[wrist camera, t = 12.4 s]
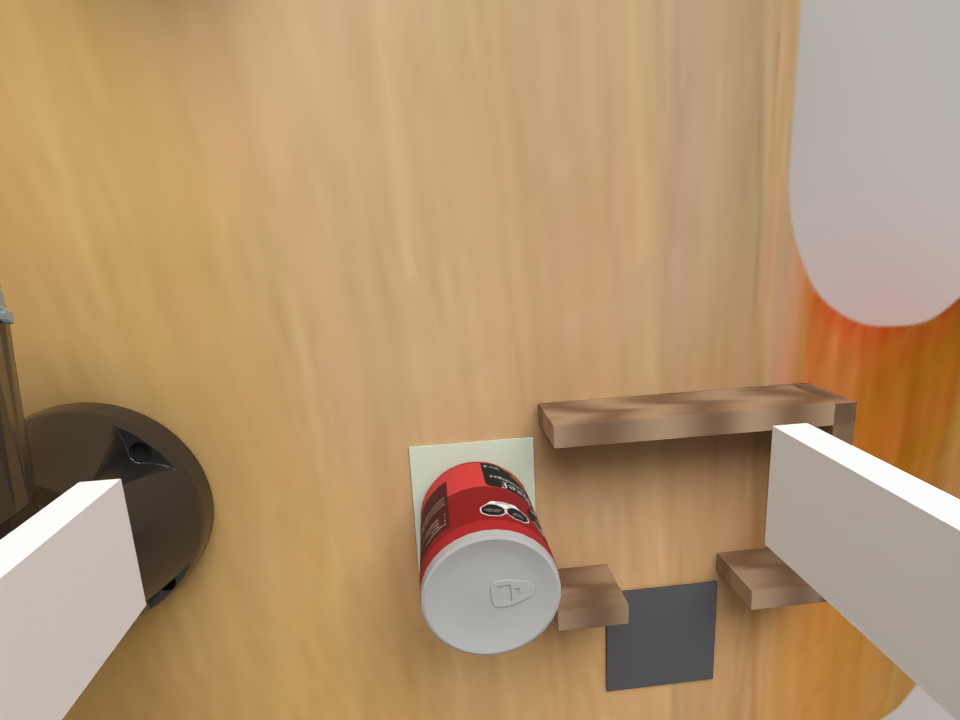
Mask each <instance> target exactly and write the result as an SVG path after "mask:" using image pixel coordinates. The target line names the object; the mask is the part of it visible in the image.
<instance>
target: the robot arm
mask: <svg viewBox="0 0 960 720" xmlns="http://www.w3.org/2000/svg"><path fill="white" fill-rule="evenodd" d="M13 323H14V319H13V315H12V312H10V311H9V310H7V309H6V306H5V302H4V298H3V294H2V290H1V286H0V720H62V719H63V718H64V716H65V715H66V714H67V712H68V711H69V710H70V708H71V707H72V706H73V704H74V703H75V701H76V700H77V699H78V697H79V696H80V695H81V693H82V692H83V691H84V689H85V688H86V687H87V685H88V684H89V682H90V681H91V680H92V678H93V677H94V676H95V674H96V673H97V672H98V670H99V669H100V667H101V666H102V665H103V663H104V662H105V661H106V659H107V658H108V657H109V655H110V654H111V653H112V651H113V650H114V648H115V647H116V646H117V644H118V643H119V642H120V640H121V639H122V638H123V636H124V635H125V634H126V632H127V631H128V629H129V628H130V627H131V625H132V624H133V623H134V621H135V620H136V619H137V617H138V616H139V615H141V614H143V613H144V612H146V611H148V610H149V609H151V608H152V607H154V606H156V605H157V604H159V603H160V602H161V601H163V600H164V599H166V598H167V597H168V596H169V595H170V594H172V593H173V592H174V591H175V590H176V589H177V588H178V587H179V586H180V585H181V583H182V582H183V581H184V580H185V579H186V577H187V576H188V575H189V573H190V572H191V570H192V569H193V567H194V566H195V564H196V563H197V561H198V560H199V558H200V557H201V555H202V554H203V552H204V550H205V548H206V545H207V543H208V540H209V537H210V534H211V530H212V524H213V500H212V494H211V490H210V486H209V483H208V480H207V478H206V475H205V473H204V471H203V469H202V467H201V465H200V464H199V462H198V460H197V459H196V457H195V456H194V455H193V453H192V452H191V451H190V450H189V448H188V447H187V446H186V445H185V444H184V443H183V442H182V441H181V440H180V439H179V438H178V437H177V436H176V435H175V434H173V433H172V432H171V431H170V430H168V429H167V428H165V427H164V426H163V425H161V424H159V423H158V422H156V421H154V420H153V419H151V418H149V417H147V416H145V415H142V414H140V413H138V412H135V411H132V410H129V409H126V408H123V407H119V406H114V405H109V404H101V403H72V404H65V405H60V406H56V407H52V408H49V409H46V410H43V411H40V412H38V413H35V414H33V415H31V416H29V417H27V418H25V419H24V414H23V408H22V402H21V396H20V390H19V383H18V376H17V370H16V363H15V356H14V350H13V343H12V336H11V329H10V324H13ZM765 545H766V546H767V547H768V548H770V549H771V550H772V551H773V552H774V553H775V554H776V555H777V556H778V557H779V558H780V559H782V560H783V561H784V562H785V563H786V564H787V565H788V566H789V567H790V568H791V569H792V570H794V571H795V572H796V573H797V574H798V575H799V576H800V577H801V578H802V579H803V580H804V581H806V582H807V583H808V584H809V585H810V586H811V587H812V588H813V589H814V590H815V591H816V592H817V593H819V594H820V595H821V596H822V597H823V598H824V599H825V600H826V601H827V602H828V603H829V604H831V605H832V606H833V607H834V608H835V609H836V610H837V611H838V612H839V613H840V614H841V615H843V616H844V617H845V618H846V619H847V620H848V621H849V622H850V623H851V624H852V625H853V626H855V627H856V628H857V629H858V630H859V631H860V632H861V633H862V634H863V635H864V636H865V637H866V638H868V639H869V640H870V641H871V642H872V643H873V644H874V645H875V646H876V647H877V648H878V649H880V650H881V651H882V652H883V653H884V654H885V655H886V656H887V657H888V658H889V659H890V660H892V661H893V662H894V663H895V664H896V665H897V666H898V667H899V668H900V669H901V670H902V671H904V672H905V673H906V674H907V675H908V676H909V677H910V678H911V679H912V680H913V681H914V682H915V683H917V684H918V685H919V686H920V687H921V688H922V689H923V690H924V691H925V692H926V693H927V694H929V695H930V696H931V697H932V698H933V699H934V700H935V701H936V702H938V703H939V704H940V705H941V706H942V707H943V708H944V709H945V710H946V711H947V712H948V713H949V714H950V715H952V716H953V717H954V718H955V719H956V720H960V500H959V499H958V498H956V497H954V496H952V495H950V494H948V493H946V492H944V491H942V490H940V489H938V488H936V487H934V486H932V485H930V484H928V483H926V482H924V481H922V480H920V479H918V478H916V477H914V476H912V475H910V474H908V473H906V472H904V471H902V470H900V469H898V468H896V467H894V466H892V465H890V464H888V463H886V462H884V461H882V460H880V459H878V458H876V457H874V456H872V455H870V454H868V453H866V452H864V451H862V450H860V449H858V448H856V447H854V446H852V445H850V444H848V443H846V442H844V441H842V440H840V439H838V438H836V437H834V436H832V435H830V434H828V433H826V432H824V431H822V430H820V429H818V428H816V427H814V426H812V425H810V424H808V423H801V424H789V425H777V426H773V430H772V444H771V459H770V473H769V488H768V503H767V517H766V532H765Z"/></svg>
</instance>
